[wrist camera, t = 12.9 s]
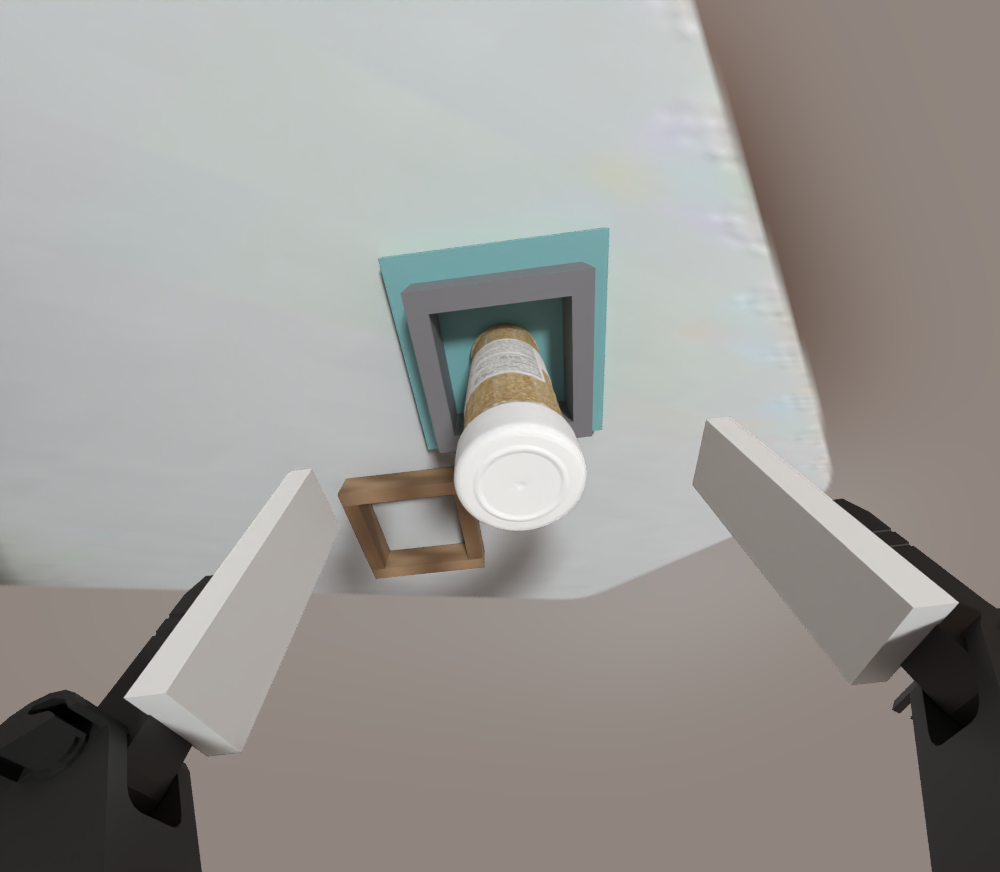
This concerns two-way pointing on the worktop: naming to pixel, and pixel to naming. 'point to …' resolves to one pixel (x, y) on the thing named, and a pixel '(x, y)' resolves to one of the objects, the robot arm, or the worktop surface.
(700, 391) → the worktop surface
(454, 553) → the stand collar
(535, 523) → the sprinkles bottle
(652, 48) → the worktop surface
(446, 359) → the plate
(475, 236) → the worktop surface
